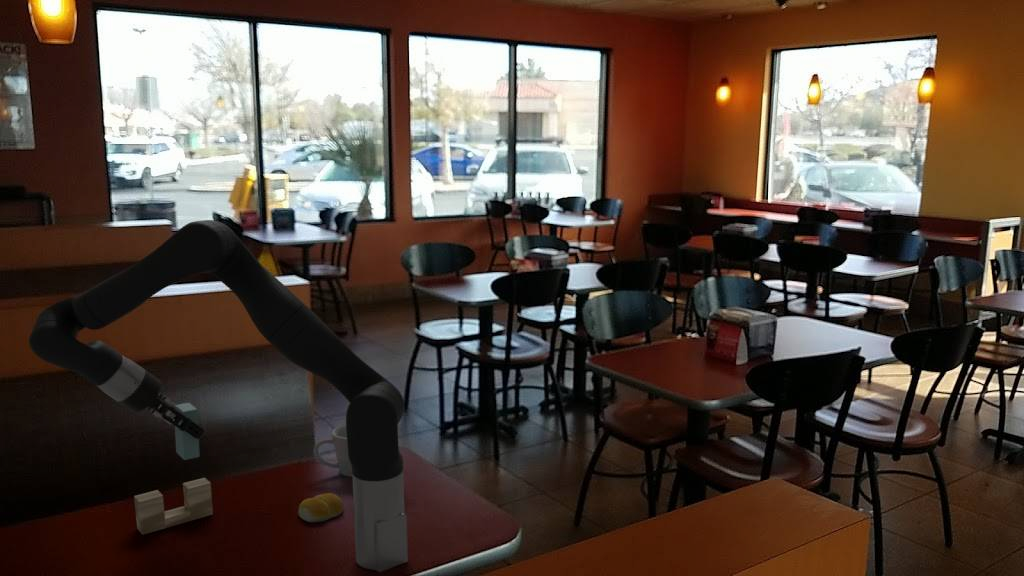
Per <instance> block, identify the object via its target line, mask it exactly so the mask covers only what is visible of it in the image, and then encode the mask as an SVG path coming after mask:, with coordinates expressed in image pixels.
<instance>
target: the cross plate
mask: <svg viewBox="0 0 1024 576" xmlns="http://www.w3.org/2000/svg"><path fill="white" fill-rule="evenodd" d="M175 405H176V406H177V407H178V408H180V409H181V410H182V414H183V415H185V416H186V417H189V418H190V419H191V420H192V422H194V423H195V424H197V425H198V426H199V420H198V408H197V407H196V406H194V405H193V404H191V403H190V402H185V403H181V404H180V403H179V404H175ZM175 410H176V409H175ZM183 420H184V419H182V420H181V421H180V422H179V423H178V424H179V425H180V424H181V423H182V422H183ZM174 434H175V435H174V436H175V453H176V454H177V455H178V456H179V457H181V459H182V460H184V461H186V460H190V459H195V458H199V457H200V438H198V439H196V438H194V437H193V436H192V435H190V434H189V433H187V432H186V431H181V430H179V428H178V427H176V426H175V425H174Z"/></svg>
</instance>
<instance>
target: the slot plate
mask: <svg viewBox="0 0 1024 576" xmlns="http://www.w3.org/2000/svg"><path fill="white" fill-rule="evenodd" d="M211 484H212V483H211V481H210V480H208V479H207V478H206V477H202V478H199V479H198V478H197V479H194V480H191V481H187V482H183V483H182V488H183V491H182V492H183V500H184V505H183V506H180V507H176V508H173V509H169V510H165V503H164V495H163V494H162V493H161V492H160V491H159V489H156V490H153V491H148V492H145V493H142V494H141V493H140V494H137V495H134V496H133V497H134V507H135V508H134V509H135V519H136V527H137V528H136V529H137V530H138V532H139V533H140V534H141V535H147V534H149V533H153V532H157V531H161V530H163V529H168V528H171V527H174V526H178V525H181V524H185V523H188V522H192V521H195V520H198V519H202V518H206V517H209V516H212V515H214V513H213V512H214V510H213V499H212V498H213V497H212V485H211Z"/></svg>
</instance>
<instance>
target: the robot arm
mask: <svg viewBox="0 0 1024 576" xmlns="http://www.w3.org/2000/svg"><path fill="white" fill-rule="evenodd" d="M199 274H211V275H212V276H214V277H215V278H216V279H217V280H219V281H220V282H221V283H222V284H223V285H225V286H226V287H227V288H228V289H229V291H231V292H233V294H234V295H235V296H236V298H238V300H239V301H240V302H241V304H242V306H243V307H244V309H245V310H246V313H247V315H248V316H249V317H250V319H251V321H252V322H253V324H254V326H255V327H256V329H257V330H258V332H259V333H260V334H261V335H262V337H263V338H264V339H265V340H266V341H267V342H268V343H270V345H271V346H273V348H275V350H277V351H278V352H279V353H280V354H281V355H282V356H283V357H284V358H285V359H287V360H288V361H289V362H291V363H292V364H294V365H296V366H297V367H300V368H301V369H304V370H306V371H308V372H310V373H311V374H314V375H316V376H318V377H319V378H322V379H323V380H324V381H327V382H328V383H329V384H330V385H332V386H333V388H335V389H336V390H338V392H340V394H341V395H342V396H343V397H344V398H345V399H346V400H347V401H348V403H349V404H348V406H347V409H346V413H345V414H346V415H345V425H346V433H347V446H348V456H349V461H350V463H351V465H352V476H353V477H352V495H353V496H352V497H353V498H352V499H353V500H352V501H353V519H354V520H353V523H354V542H355V545H354V546H355V560H356V563H357V565H358V566H360V567H362V568H364V569H366V570H373V571H376V572H378V573H382V572H385V571H387V570H390V569H393V568H394V567H397V566H400V565H402V564H406V563H407V562H408V559H409V558H408V555H409V554H408V529H407V523H408V521H407V514H406V513H405V493H404V492H405V491H404V489H405V488H404V487H405V486H404V459H403V458H404V457H403V456H402V453H401V452H400V449H399V448H400V447H399V446H400V445H399V431H398V430H399V427H398V425H399V423H400V421H401V420H402V417H403V416H404V413H405V408H406V407H405V400H404V397H403V395H402V393H401V392H400V390H399V389H398V388H397V387H396V386H395V385H394V384H393V383H392V382H390V381H389V380H388V379H387V378H385V377H384V376H383V375H381V374H380V373H379V372H377V370H375V369H373V368H372V366H370V365H368V364H367V362H365V361H364V360H362V359H361V358H360V356H358V355H356V353H355V352H354V351H352V350H351V348H350V347H348V345H347V344H346V343H345V342H344V341H343V340H342V339H341V338H340V337H339V336H338V335H337V334H336V333H335V332H334V331H333V330H331V328H329V326H328V325H327V324H325V322H324V321H323V320H322V319H321V318H320V317H319V316H318V315H317V314H316V313H315V312H314V311H313V310H312V309H311V308H309V306H307V305H306V304H305V303H304V302H303V301H302V300H301V299H300V298H298V296H296V294H294V293H293V292H292V291H291V290H290V289H289V288H288V287H287V286H286V285H285V284H284V283H283V282H281V281H280V280H279V279H278V278H277V277H276V276H275V275H273V274H272V273H271V272H270V271H269V270H267V269H266V268H265V267H264V265H262V264H261V262H260V261H259V260H258V259H257V258H256V257H255V255H254V254H253V253H252V252H251V251H250V250H249V248H248V247H247V246H246V245H245V243H244V242H242V240H241V239H240V237H239V236H238V235H237V234H236V233H235V232H234V231H233V230H232V229H231V228H230V227H229V226H228V225H226V224H224V223H223V222H220V221H219V220H218V221H217V220H212V219H206V220H195V221H192V222H189V223H187V224H184V225H183V226H182V227H180V229H178V230H177V231H176V232H175V233H174V234H173V235H171V236H170V237H168V239H166V240H165V241H164V242H163V243H161V245H159V246H158V247H157V248H156V249H154V250H153V251H152V252H150V253H149V254H148V255H146V256H145V257H143V258H142V259H141V260H139V261H137V262H135V263H134V264H132V265H131V266H128V267H127V268H126V269H124V270H121V271H120V272H118V273H115V274H114V275H113V276H110V277H109V278H107V279H105V280H104V281H101V282H100V283H98V284H96V285H94V286H93V287H90V288H89V289H88V290H86V291H84V292H83V293H81V294H80V295H76V296H72V297H69V298H68V297H67V298H65V299H63V300H59V301H57V302H54V303H52V304H51V305H49V306H47V307H46V308H45V309H43V310H42V311H41V312H40V313H39V314H38V316H37V317H36V320H35V323H34V325H33V327H32V329H31V332H30V335H29V337H28V338H29V339H28V344H29V347H30V349H31V350H32V352H33V353H34V355H36V356H37V357H38V358H39V359H41V360H42V361H44V362H46V363H48V364H51V365H54V366H56V367H59V368H62V369H65V370H67V371H69V372H74V373H77V374H79V375H80V376H82V377H83V378H85V379H86V380H87V381H88V382H91V384H93V385H95V386H96V387H98V389H99V390H101V391H102V392H103V393H105V395H106V396H109V397H110V398H111V399H113V400H114V401H116V402H117V403H119V404H120V405H122V406H123V407H125V408H126V409H127V410H130V411H131V412H132V413H135V414H137V413H140V412H143V411H145V409H147V411H149V412H150V413H151V414H152V415H153V416H155V417H156V418H160V419H161V420H163V421H164V422H166V423H167V424H169V425H170V426H171V425H174V427H175V426H176V427H178V428H179V430H181V431H186V432H187V433H189V434H190V435H192V436H193V437H194V438H196V439H198V438H199V439H200V438H201V436H202V435H203V434H204V433H205V430H204V429H203V427H201V426H199V424H198V425H197V424H195V423H194V422H192V420H191V419H190V418H189V417H186V416H185V415H183V414H182V410H181V409H180V408H178V407H177V406H176V405H177V404H175V403H174V402H172V400H171V399H170V398H169V397H167V396H166V395H165V394H164V393H161V391H162V388H163V387H162V385H163V384H162V381H161V380H160V379H159V378H157V377H156V376H155V375H153V374H152V373H150V372H149V371H147V370H146V369H144V368H143V367H142V366H140V365H139V364H138V363H136V362H135V361H133V360H132V359H130V358H127V357H126V356H125V355H122V354H121V353H120V352H118V351H117V350H115V349H114V348H113V347H111V345H109V344H108V343H106V342H104V341H102V340H92V341H89V342H87V343H84V342H81V341H80V340H79V339H77V337H78V333H80V332H81V331H82V330H84V329H85V328H87V329H89V330H93V331H94V330H95V331H97V330H101V329H103V328H106V327H107V326H110V325H111V324H113V323H114V322H116V321H117V320H119V319H122V318H123V317H125V316H127V315H128V314H130V313H131V312H133V311H134V310H136V309H137V308H139V307H140V306H142V305H143V304H144V303H145V302H146V301H148V300H149V299H151V298H152V297H153V296H154V295H156V294H157V293H159V292H161V291H162V290H163V289H165V288H167V287H169V286H171V285H174V284H175V283H177V282H180V281H183V280H185V279H189V278H191V277H194V276H197V275H199ZM175 409H176V410H175ZM182 419H184V420H183V422H182V423H181V424H180V425H179V424H178V423H179V422H180V421H181V420H182Z"/></svg>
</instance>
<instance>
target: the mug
mask: <svg viewBox="0 0 1024 576" xmlns="http://www.w3.org/2000/svg"><path fill="white" fill-rule="evenodd" d="M331 436H332V438H324V439H321V440H318V441H317V442H316V443H315V444H314V447H313V448H312V449H313V450H312V453H313V456H314V458H315V459H316V460H317V461H318V463H320V464H322V465H323V466H326V467H327V468H328V467H330V468H334V469H338V470H339V471H338V472H339V473H340V474H341V475H342V476H344V477H350V478H351V477H352V478H353V476H352V465H351V463H350V461H349V456H348V446H347V433H346V424H344V425H340V426H337V427H335V428H334V429H333V430H332V431H331ZM325 444H333V446H334V451H335V456H336V461H337V463H336V462H335V463H334V462H331V461H329V460H326V459H324V458H323V457H322V456H321V455H320V453H319V448H321V446H322V445H325Z"/></svg>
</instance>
